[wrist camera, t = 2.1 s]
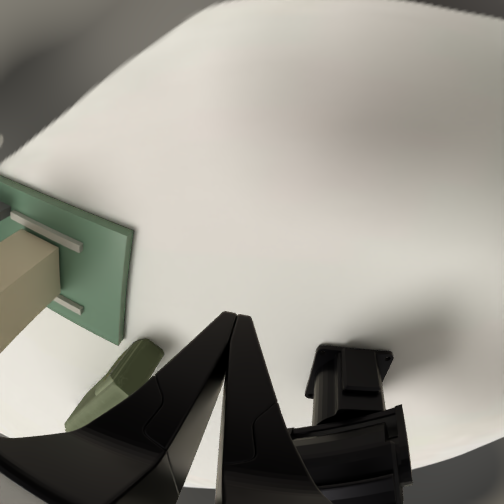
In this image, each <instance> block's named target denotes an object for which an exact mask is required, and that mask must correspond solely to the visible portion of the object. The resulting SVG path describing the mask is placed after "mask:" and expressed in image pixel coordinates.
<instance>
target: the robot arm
mask: <svg viewBox="0 0 504 504" xmlns="http://www.w3.org/2000/svg"><path fill="white" fill-rule="evenodd" d="M321 351H325V352H321ZM386 357H387V358H386ZM393 358H394V357H393V353H392V352H390V351H380V350H367V349H355V348H344V347H334V346H324V345H323V346H319V347H318V348H317V349H316V353H315V357H314V361H313V365H312V369H311V372H310V376H309V380H308V383H307V387H306V391H305V397H307V398H310V399H314V400H313V417H312V426H308V427H302V428H295V429H294V428H287V427H286V425H285V422H284V419H283V416H282V414H281V410H280V407H279V404H278V403H277V398H276V395H275V392H274V389H273V386H272V382H271V379H270V376H269V373H268V370H267V366H266V363H265V360H264V357H263V353H262V350H261V347H260V344H259V340H258V337H257V334H256V330H255V327H254V324H253V321H252V318H251V317H250V316H247V315H242V314H238V315H237V314H236V313H232V312H227V311H224V312H222V313H221V314H220V315H219V316H218V317H217V318H216V319H215V320H214V321H213V322H212V323H210V324H209V325H208V326H207V327H206V328H205V329H204V330H203V331H202V332H201V333H200V334H199V335H198V336H196V337H195V338H194V339H193V340H192V341H191V342H190V343H189V344H188V345H187V346H186V347H184V348H183V349H182V350H181V351H180V352H179V353H178V354H177V355H176V356H175V357H174V358H172V359H171V360H170V361H169V362H168V363H167V364H166V365H165V366H164V367H162V368H161V369H160V370H159V371H158V372H157V373H156V374H155V376H152V377H151V378H150V379H149V380H148V381H147V382H146V383H145V384H143V385H142V386H141V387H140V388H139V389H137V390H136V391H135V392H134V393H132V394H131V395H130V396H128V397H127V398H126V399H124V400H123V401H121V402H120V403H118V404H117V405H115V406H114V407H112V408H111V409H109V410H108V411H106V412H105V413H103V414H102V415H100V416H99V417H97V418H96V419H94V420H93V421H91V422H90V423H88V424H86V425H85V426H83V427H81V428H79V429H76V430H74V431H70V432H65V433H58V434H51V435H42V436H33V437H23V438H5V437H0V504H176V502H177V500H178V497H179V495H180V492H181V490H182V487H183V485H184V482H185V480H186V477H187V475H188V472H189V470H190V467H191V465H192V462H193V460H194V457H195V455H196V452H197V450H198V447H199V445H200V442H201V439H202V437H203V434H204V432H205V429H206V427H207V424H208V421H209V419H210V416H211V414H212V411H213V408H214V406H215V403H216V401H217V398H218V395H219V393H220V390H221V387H222V385H223V382H224V390H223V402H222V414H221V427H220V439H219V452H218V465H217V479H216V493H215V504H403V501H404V497H403V487H406V486H410V485H413V482H412V471H411V461H410V453H409V445H408V438H407V432H406V426H405V420H404V414H403V408H402V404H401V405H398V406H395V408H391V409H388V410H386V408H385V401H384V394H383V387H382V382H383V380H384V378H385V376H386V374H387V371H388V369H389V367H390V365H391V363H392V361H393ZM224 378H225V381H224Z"/></svg>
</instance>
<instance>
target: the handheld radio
mask: <svg viewBox="0 0 504 504" xmlns="http://www.w3.org/2000/svg"><path fill="white" fill-rule="evenodd" d="M163 355H164V352H163V350H162V349H161V348H159V347H158V346H157V345H155V344H154V343H153V342H152V341H150V340H149V339H146V338H145V339H143V340H138V341H136V342H134V343H133V344H132V345H131V346H130V347H129V348H128V349H127V350H126V351H125V352H124V353H123V354H122V355H121V356H120V357H119V358H118V359H117V361H116V362H115V363H114V365H113V366H112V367H111V369H110V370H109V371H108V373H107V374H106V375H105V376H104V377H103V378H102V379H101V380H100V381H99V382H98V383H97V384H96V385H95V386H94V387H93V388H92V389H91V390H90V391H89V392H88V393H87V394H86V395H85V396H84V398H83V399H82V400H81V402H80V403H79V404H78V406H77V407H76V409H75V410H74V411H73V413H72V414H71V415H70V417H69V418H68V420H67V421H66V422H65V428H66V429H65V431H66V432H70V431H74V430H76V429H79V428H81V427H83V426H85V425H86V424H88V423H90V422H91V421H93V420H94V419H96V418H97V417H99V416H100V415H102V414H103V413H105V412H106V411H108V410H109V409H111V408H112V407H114V406H115V405H117V404H118V403H120V402H121V401H123V400H124V399H126V398H127V397H128V396H130V395H131V394H132V393H134V392H135V391H136V390H137V389H139V388H140V387H141V386H142V385H143V384H145V383H146V382H147V381H148V380H149V378H150V377H151V375H152V373H153V372H154V370H155V368H156V367H157V365H158V364H159V362H160V360H161V359H162V357H163Z"/></svg>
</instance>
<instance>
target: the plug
mask: <svg viewBox="0 0 504 504" xmlns="http://www.w3.org/2000/svg"><path fill="white" fill-rule="evenodd" d="M60 293H61V289H60V272H59V247H57V246H55V245H53V244H51V243H49V242H47V241H45V240H43V239H41V238H39V237H37V236H35V235H33V234H31V233H29V232H27V231H26V230H24V229H20V230H19V231H17V232H15V233H14V234H12V235H11V236H9V237H7V238H6V239H4V240H3V241H1V242H0V353H1V352H2V351H3V350H4V349H5V348H6V347H7V346H8V345H9V344H10V343H11V341H12V340H13V339H14V338H15V337H16V336H17V335H18V334H19V333H20V332H21V331H22V330H23V329H24V328H25V327H26V326H27V325H28V324H29V323H30V322H31V321H32V320H33V319H34V318H35V317H36V316H37V315H38V314H39V313H40V312H41V311H42V310H43V309H44V308H45V307H46V306H47V305H49V304H50V303H51V302H52V301H53V300H54V299H55V298H56V297H57V296H58V295H59V294H60Z"/></svg>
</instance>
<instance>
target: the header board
mask: <svg viewBox="0 0 504 504" xmlns="http://www.w3.org/2000/svg"><path fill="white" fill-rule="evenodd" d="M20 229H24V230H26V231H27V232H29V233H31V234H33V235H35V236H37V237H39V238H41V239H43V240H45V241H47V242H49V243H51V244H53V245H55V246H57V247H59V272H60V289H61V293H60V294H59V295H58V296H57V297H56V298H55V299H54V300H53V301H52V302H51V303H50V304H49V305H47V306H46V307H48V308H49V309H51V310H53V311H54V312H56V313H58V314H60V315H61V316H63V317H65V318H67V319H68V320H70V321H72V322H74V323H76V324H77V325H79V326H81V327H83V328H85V329H87V330H88V331H90V332H92V333H94V334H96V335H98V336H100V337H102V338H104V339H106V340H108V341H110V342H112V343H114V344H116V345H118V346H119V344H120V343H121V341H122V340H123V330H124V315H125V302H126V290H127V280H128V271H129V262H130V254H131V246H132V239H133V232H134V231H133V230H130V229H128V228H125V227H123V226H120V225H118V224H115V223H113V222H110V221H108V220H105V219H103V218H100V217H98V216H95V215H93V214H90V213H88V212H86V211H83V210H81V209H78V208H76V207H73V206H71V205H69V204H66V203H64V202H61V201H59V200H57V199H54V198H52V197H49V196H47V195H45V194H42V193H40V192H38V191H35V190H33V189H30V188H28V187H26V186H23V185H21V184H19V183H16V182H14V181H12V180H9V179H7V178H5V177H2V176H0V242H1V241H3V240H4V239H6V238H7V237H9V236H11V235H12V234H14V233H15V232H17V231H19V230H20Z"/></svg>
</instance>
